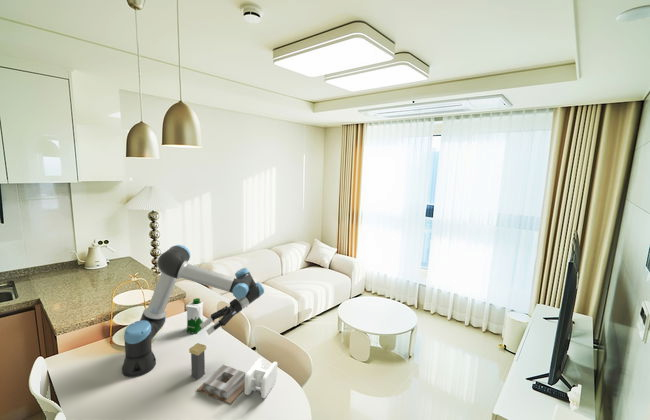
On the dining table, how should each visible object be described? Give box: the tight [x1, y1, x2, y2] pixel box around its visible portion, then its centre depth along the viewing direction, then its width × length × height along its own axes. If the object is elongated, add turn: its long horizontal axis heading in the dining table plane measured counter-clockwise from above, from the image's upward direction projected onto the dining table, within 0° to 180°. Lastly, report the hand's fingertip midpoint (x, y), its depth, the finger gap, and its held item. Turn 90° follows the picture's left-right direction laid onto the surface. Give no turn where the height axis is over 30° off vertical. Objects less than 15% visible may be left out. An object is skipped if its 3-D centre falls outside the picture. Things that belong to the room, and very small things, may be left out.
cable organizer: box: [244, 357, 278, 399], centre depth 144 cm, size 15×11×12 cm
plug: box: [188, 342, 207, 380], centre depth 150 cm, size 6×6×16 cm
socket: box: [196, 364, 246, 405], centre depth 145 cm, size 20×16×5 cm
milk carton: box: [185, 297, 204, 334], centre depth 190 cm, size 9×9×20 cm
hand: (204, 329), depth 152 cm, fingers open, 13 cm apart
